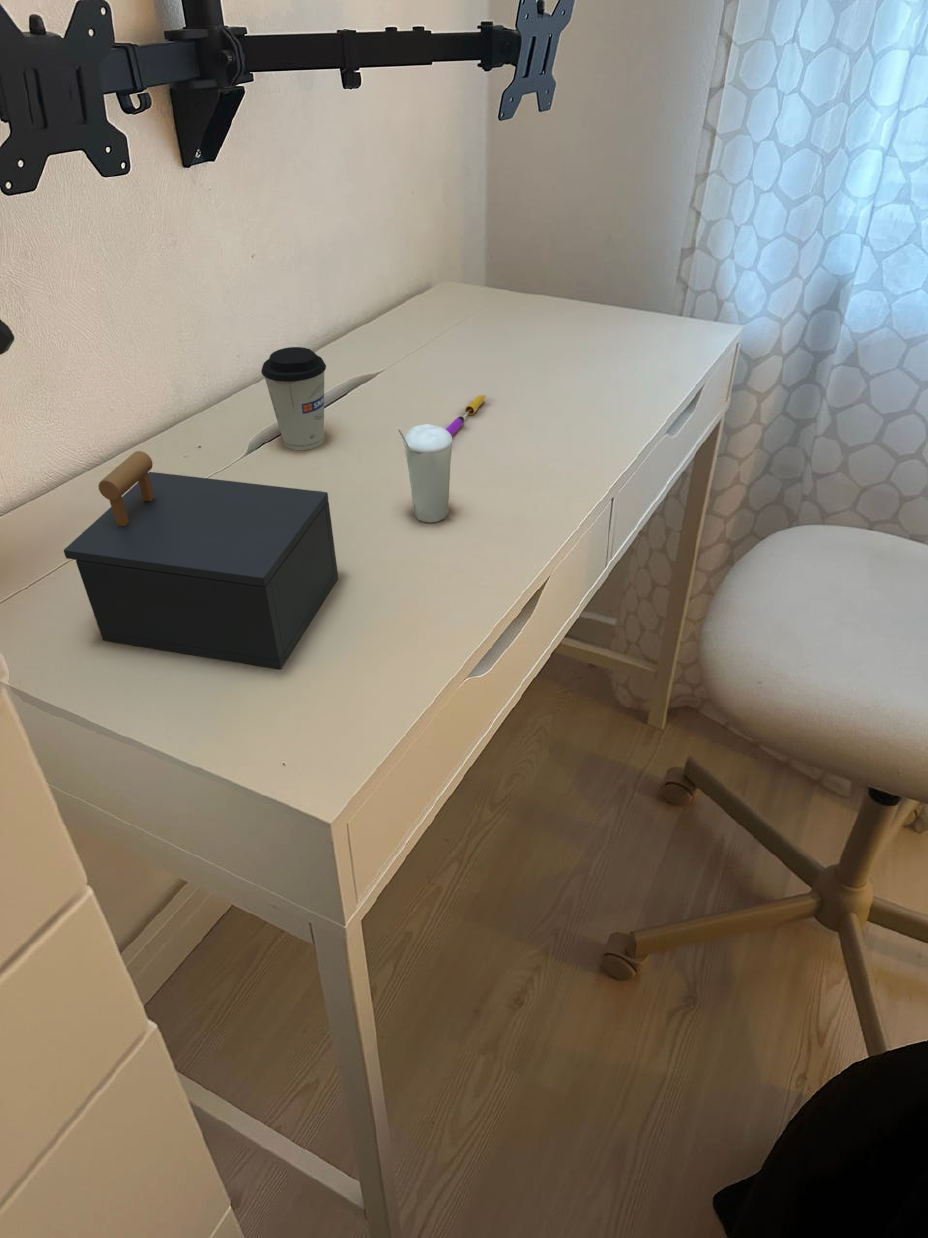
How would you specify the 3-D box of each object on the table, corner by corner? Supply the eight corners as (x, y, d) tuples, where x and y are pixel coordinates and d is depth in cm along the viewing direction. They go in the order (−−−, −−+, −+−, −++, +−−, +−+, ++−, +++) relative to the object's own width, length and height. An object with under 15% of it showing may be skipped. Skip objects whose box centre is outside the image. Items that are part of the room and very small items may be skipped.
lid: (65, 558, 69) (46, 502, 66) (151, 479, 78) (137, 426, 75) (265, 586, 65) (254, 528, 62) (328, 500, 75) (322, 446, 72)
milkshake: (392, 515, 88) (385, 421, 82) (436, 498, 91) (432, 405, 85) (418, 534, 85) (413, 438, 79) (463, 516, 88) (461, 422, 82)
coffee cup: (260, 448, 100) (245, 361, 94) (295, 423, 105) (283, 339, 99) (313, 459, 98) (301, 371, 92) (346, 433, 103) (337, 348, 97)
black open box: (102, 640, 73) (75, 560, 68) (179, 556, 83) (160, 480, 78) (280, 669, 70) (265, 587, 65) (338, 577, 80) (328, 500, 75)
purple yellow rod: (436, 456, 97) (488, 400, 109) (433, 446, 97) (486, 391, 108) (414, 458, 98) (468, 402, 110) (412, 448, 98) (466, 393, 110)
